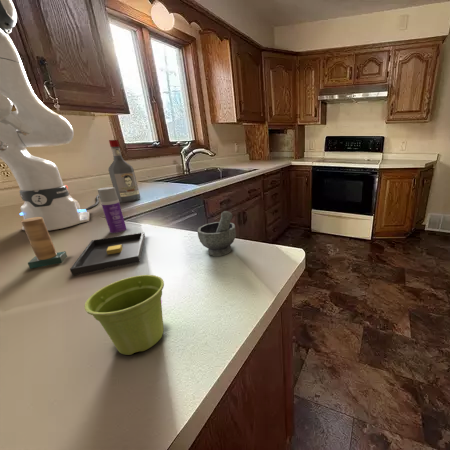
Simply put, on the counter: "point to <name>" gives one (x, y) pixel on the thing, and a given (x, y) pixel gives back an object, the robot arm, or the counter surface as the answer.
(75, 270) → the pan
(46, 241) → the brush
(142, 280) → the plant pot
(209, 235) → the mortar and pestle
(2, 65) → the robot arm
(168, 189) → the counter surface
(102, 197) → the container
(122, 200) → the liquor
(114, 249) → the block
